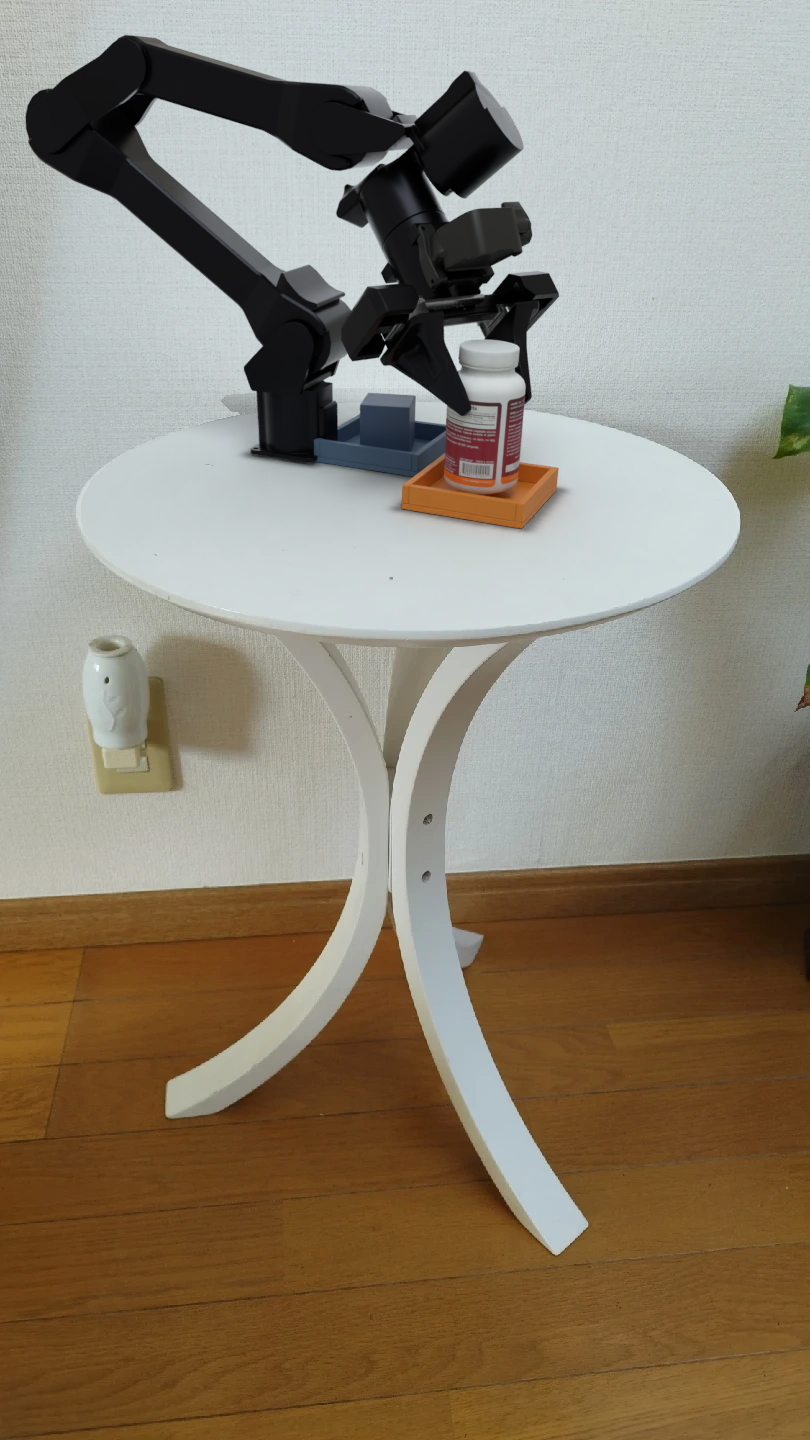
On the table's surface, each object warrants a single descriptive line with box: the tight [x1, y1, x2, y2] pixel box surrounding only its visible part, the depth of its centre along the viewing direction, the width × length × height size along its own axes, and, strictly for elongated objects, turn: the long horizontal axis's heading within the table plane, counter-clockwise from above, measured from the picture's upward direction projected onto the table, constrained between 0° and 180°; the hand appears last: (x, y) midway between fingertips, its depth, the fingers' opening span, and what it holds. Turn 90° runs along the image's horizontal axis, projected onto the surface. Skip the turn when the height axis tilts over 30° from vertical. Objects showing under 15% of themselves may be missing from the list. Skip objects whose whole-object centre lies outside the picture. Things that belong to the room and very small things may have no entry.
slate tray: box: [314, 413, 446, 478], centre depth 94 cm, size 10×10×2 cm
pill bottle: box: [444, 339, 526, 494], centre depth 81 cm, size 6×6×11 cm
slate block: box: [359, 392, 417, 452], centre depth 94 cm, size 4×4×4 cm
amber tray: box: [401, 453, 559, 529], centre depth 84 cm, size 10×10×2 cm
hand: (497, 407), depth 80 cm, fingers closed on pill bottle, 6 cm apart
